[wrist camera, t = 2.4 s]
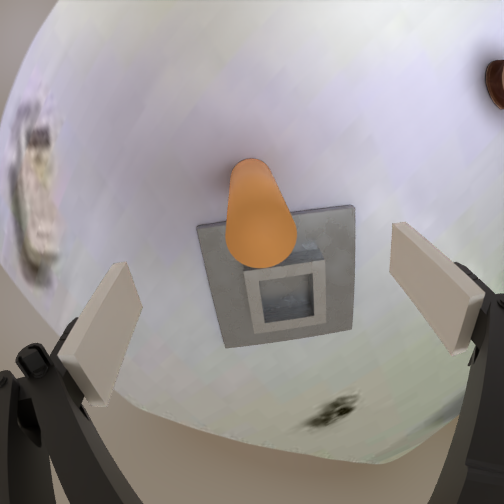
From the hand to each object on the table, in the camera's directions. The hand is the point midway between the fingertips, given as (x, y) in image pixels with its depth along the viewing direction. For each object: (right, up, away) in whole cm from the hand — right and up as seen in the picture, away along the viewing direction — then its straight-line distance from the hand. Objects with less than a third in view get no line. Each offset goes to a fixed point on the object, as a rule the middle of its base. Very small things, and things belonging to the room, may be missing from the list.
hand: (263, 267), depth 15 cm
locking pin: (-1, +8, +15) cm, 17 cm away
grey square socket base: (+3, -3, +21) cm, 21 cm away
